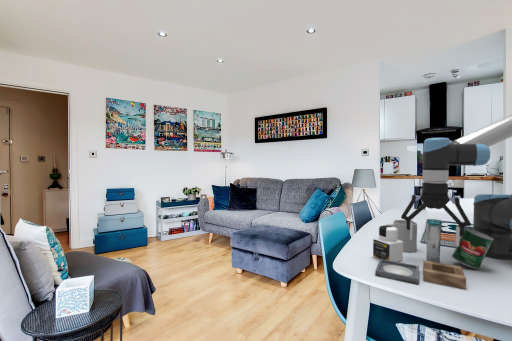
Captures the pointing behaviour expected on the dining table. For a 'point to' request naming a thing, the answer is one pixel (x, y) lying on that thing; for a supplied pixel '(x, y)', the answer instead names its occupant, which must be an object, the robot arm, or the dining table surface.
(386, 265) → the dock cradle
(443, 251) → the dining table surface
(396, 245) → the medicine bottle
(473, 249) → the canned tomato
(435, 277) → the frame
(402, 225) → the mug
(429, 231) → the pin
